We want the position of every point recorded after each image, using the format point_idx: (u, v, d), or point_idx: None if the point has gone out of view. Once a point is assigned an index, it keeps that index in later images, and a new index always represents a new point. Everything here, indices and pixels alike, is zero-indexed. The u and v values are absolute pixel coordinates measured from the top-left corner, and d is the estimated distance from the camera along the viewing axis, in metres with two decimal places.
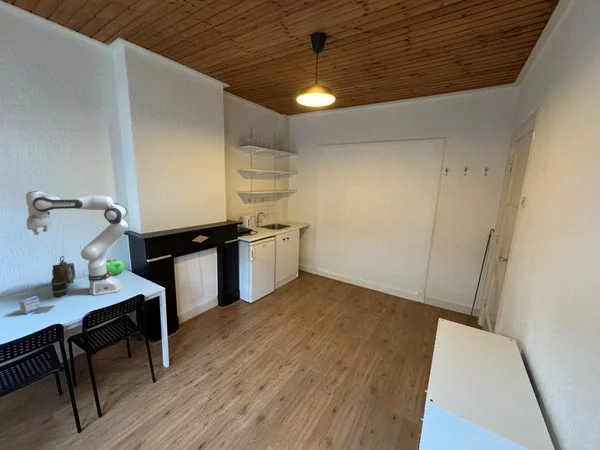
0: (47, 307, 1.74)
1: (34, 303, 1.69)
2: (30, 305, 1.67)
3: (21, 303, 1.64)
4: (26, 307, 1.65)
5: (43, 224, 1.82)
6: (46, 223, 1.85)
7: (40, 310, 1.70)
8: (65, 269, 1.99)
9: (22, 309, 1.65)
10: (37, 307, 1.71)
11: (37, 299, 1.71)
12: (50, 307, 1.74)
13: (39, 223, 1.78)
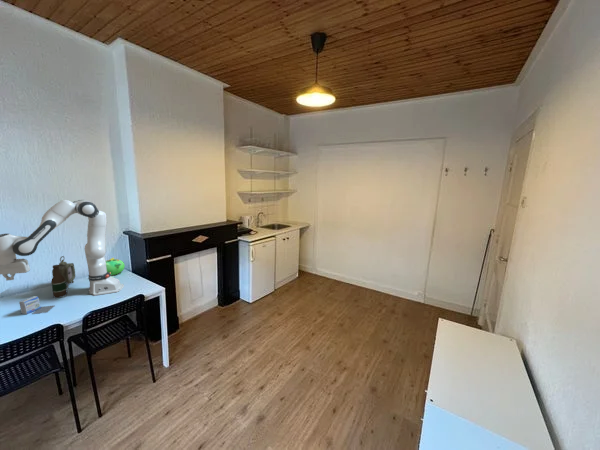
0: (47, 307, 1.74)
1: (34, 303, 1.69)
2: (30, 305, 1.67)
3: (21, 303, 1.64)
4: (26, 307, 1.65)
5: None
6: None
7: (40, 310, 1.70)
8: (65, 269, 1.99)
9: (22, 309, 1.65)
10: (37, 307, 1.71)
11: (37, 299, 1.71)
12: (50, 307, 1.74)
13: None
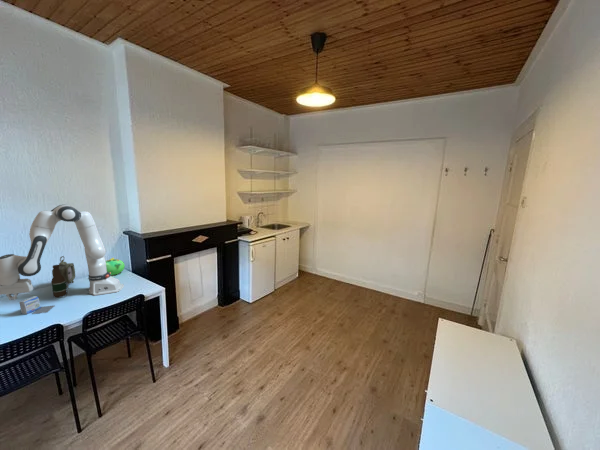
0: (47, 307, 1.74)
1: (34, 303, 1.69)
2: (30, 305, 1.67)
3: (21, 303, 1.64)
4: (26, 307, 1.65)
5: None
6: None
7: (40, 310, 1.70)
8: (65, 269, 1.99)
9: (22, 309, 1.65)
10: (37, 307, 1.71)
11: (37, 299, 1.71)
12: (50, 307, 1.74)
13: None
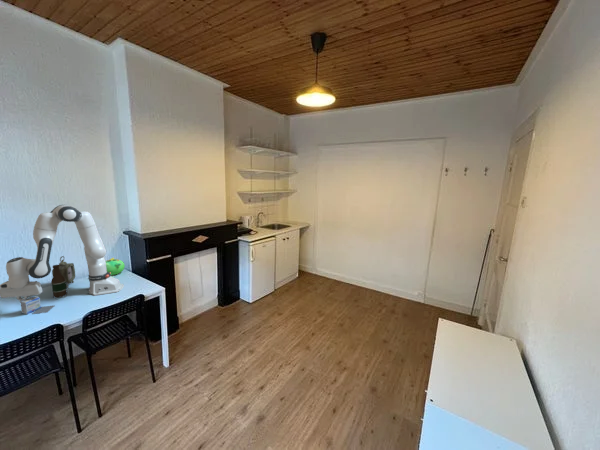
0: (47, 307, 1.74)
1: (35, 303, 1.69)
2: (31, 305, 1.67)
3: (22, 303, 1.64)
4: (27, 308, 1.65)
5: None
6: None
7: (40, 310, 1.70)
8: (65, 269, 1.99)
9: (22, 309, 1.65)
10: (37, 307, 1.71)
11: (38, 299, 1.70)
12: (50, 307, 1.74)
13: None
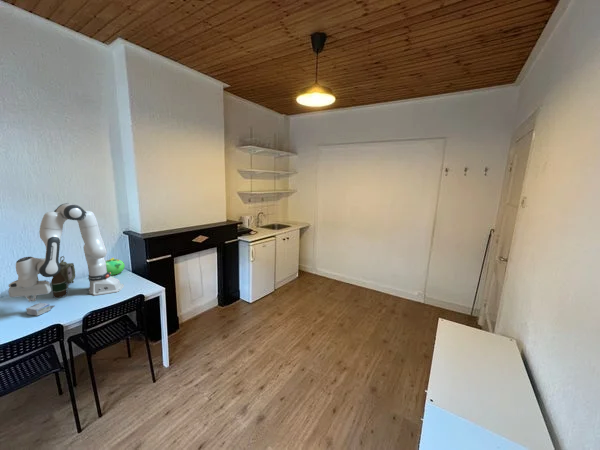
0: None
1: None
2: None
3: (35, 312, 1.63)
4: None
5: None
6: None
7: None
8: (65, 269, 1.98)
9: (29, 311, 1.64)
10: None
11: None
12: (50, 307, 1.74)
13: None
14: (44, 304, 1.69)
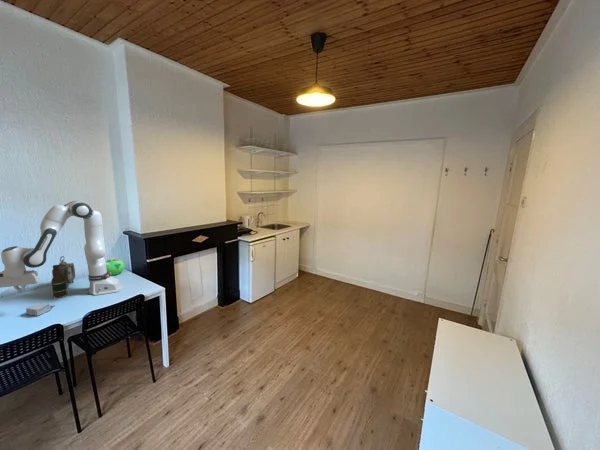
0: None
1: None
2: None
3: (35, 312, 1.63)
4: None
5: None
6: None
7: None
8: (65, 269, 1.99)
9: (29, 311, 1.64)
10: None
11: None
12: (50, 307, 1.74)
13: None
14: (44, 304, 1.69)
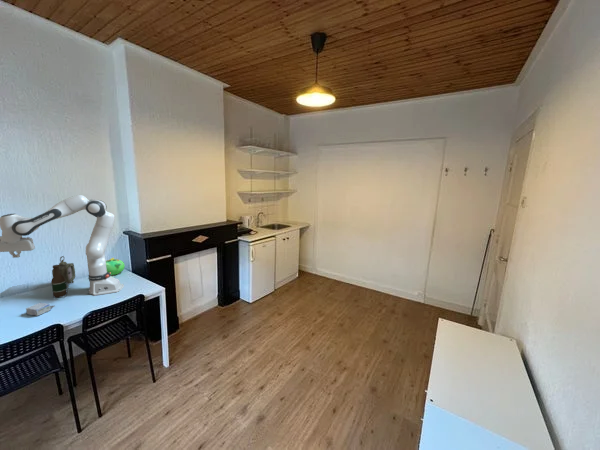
0: None
1: None
2: None
3: (35, 312, 1.63)
4: None
5: None
6: None
7: None
8: (65, 269, 1.98)
9: (29, 311, 1.64)
10: None
11: None
12: (50, 307, 1.74)
13: None
14: (44, 304, 1.69)
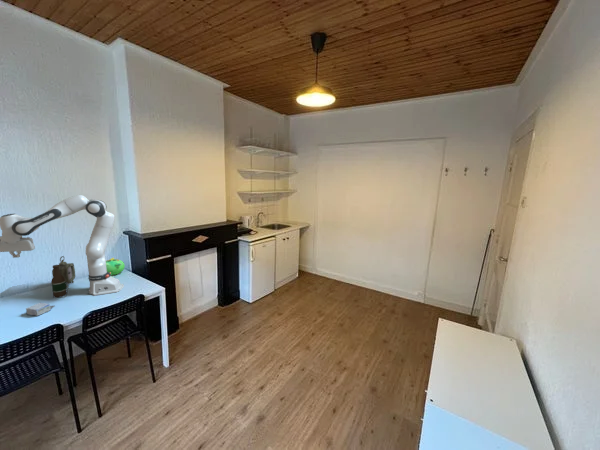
0: None
1: None
2: None
3: (35, 312, 1.63)
4: None
5: None
6: None
7: None
8: (65, 269, 1.99)
9: (29, 311, 1.64)
10: None
11: None
12: (50, 307, 1.74)
13: None
14: (44, 304, 1.69)
